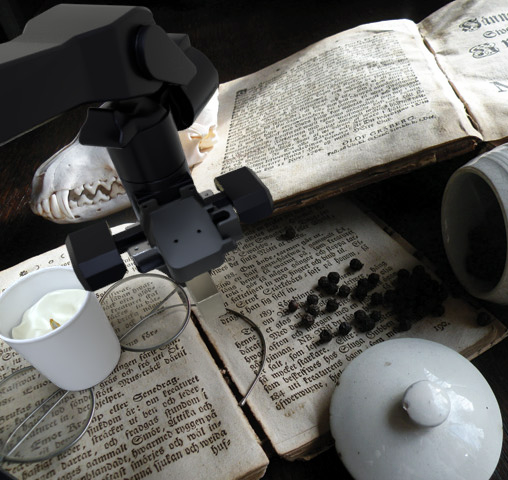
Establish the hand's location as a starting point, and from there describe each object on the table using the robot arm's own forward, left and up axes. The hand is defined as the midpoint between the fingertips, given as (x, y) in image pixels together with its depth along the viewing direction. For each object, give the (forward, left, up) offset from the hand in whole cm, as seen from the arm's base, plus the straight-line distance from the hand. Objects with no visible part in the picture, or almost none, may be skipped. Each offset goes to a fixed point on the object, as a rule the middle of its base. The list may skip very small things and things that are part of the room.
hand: (195, 279), depth 51 cm
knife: (+1, +3, -1) cm, 4 cm away
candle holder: (-11, +11, -11) cm, 19 cm away
